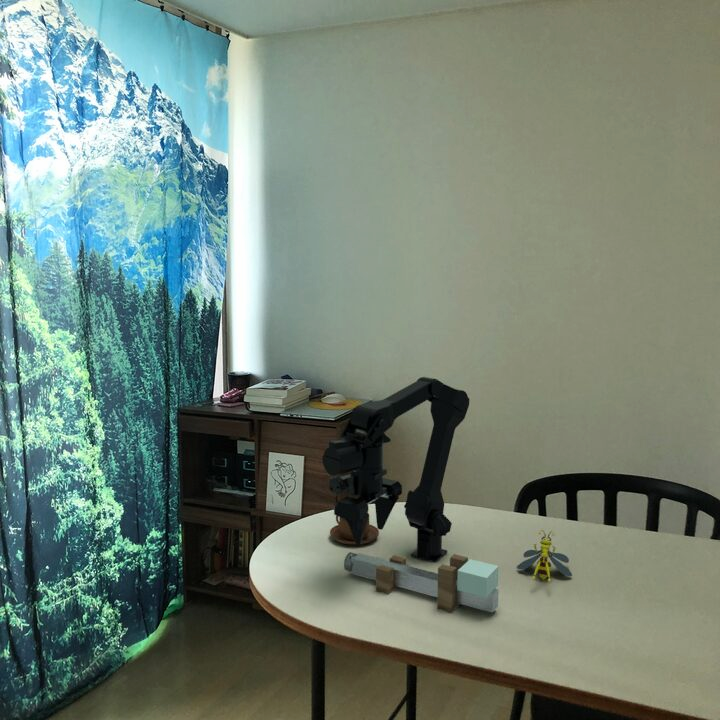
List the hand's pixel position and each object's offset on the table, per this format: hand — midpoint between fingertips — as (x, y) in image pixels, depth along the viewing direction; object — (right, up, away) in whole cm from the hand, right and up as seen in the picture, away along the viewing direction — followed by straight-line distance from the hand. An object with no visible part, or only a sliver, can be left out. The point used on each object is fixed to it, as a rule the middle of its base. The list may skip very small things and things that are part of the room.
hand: (369, 536), depth 150 cm
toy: (+37, -10, +2) cm, 39 cm away
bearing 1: (+5, -10, -2) cm, 11 cm away
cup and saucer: (-3, -7, +23) cm, 24 cm away
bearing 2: (+16, -11, -9) cm, 22 cm away
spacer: (+21, -7, -12) cm, 25 cm away
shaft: (+10, -10, -5) cm, 15 cm away
